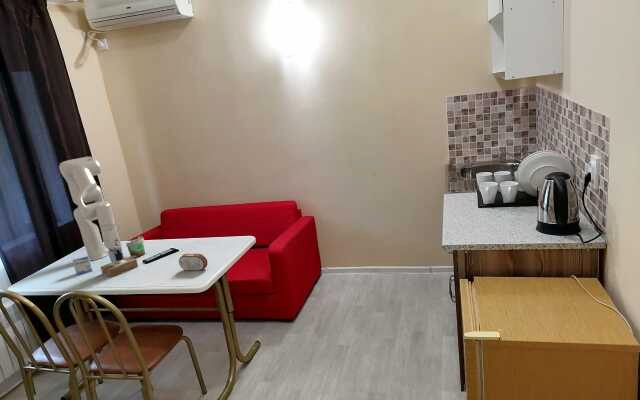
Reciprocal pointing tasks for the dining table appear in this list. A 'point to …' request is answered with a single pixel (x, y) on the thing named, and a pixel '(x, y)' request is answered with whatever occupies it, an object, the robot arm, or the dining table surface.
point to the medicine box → (82, 264)
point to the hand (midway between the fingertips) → (117, 259)
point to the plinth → (119, 267)
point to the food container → (136, 247)
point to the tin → (193, 262)
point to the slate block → (112, 255)
